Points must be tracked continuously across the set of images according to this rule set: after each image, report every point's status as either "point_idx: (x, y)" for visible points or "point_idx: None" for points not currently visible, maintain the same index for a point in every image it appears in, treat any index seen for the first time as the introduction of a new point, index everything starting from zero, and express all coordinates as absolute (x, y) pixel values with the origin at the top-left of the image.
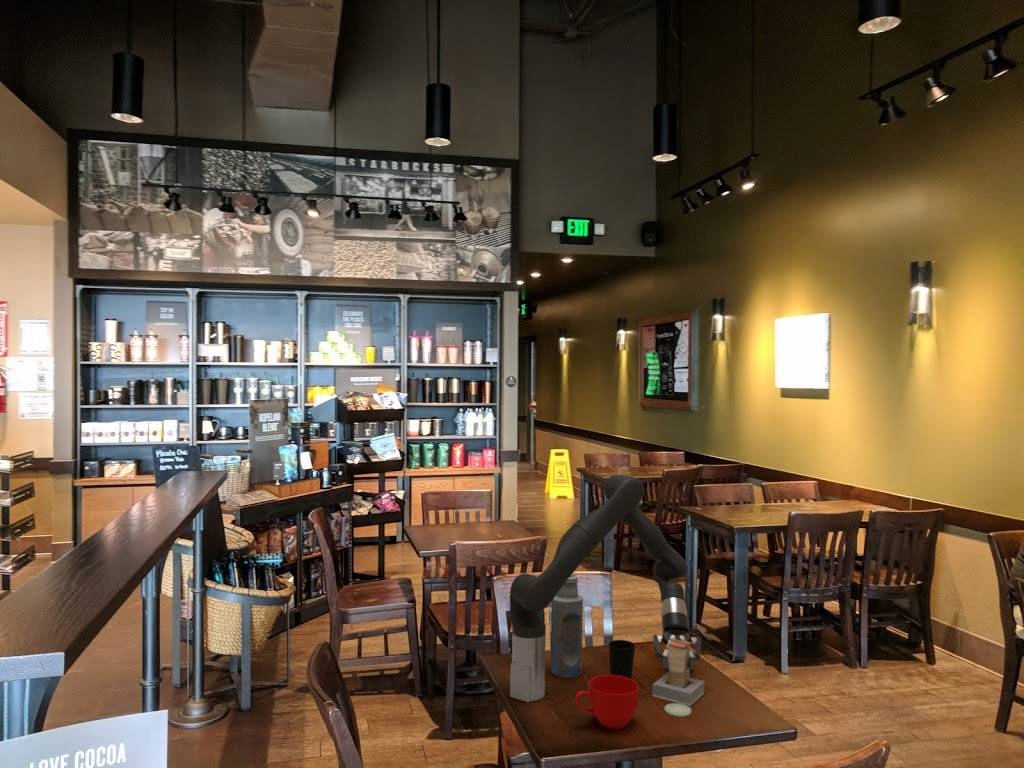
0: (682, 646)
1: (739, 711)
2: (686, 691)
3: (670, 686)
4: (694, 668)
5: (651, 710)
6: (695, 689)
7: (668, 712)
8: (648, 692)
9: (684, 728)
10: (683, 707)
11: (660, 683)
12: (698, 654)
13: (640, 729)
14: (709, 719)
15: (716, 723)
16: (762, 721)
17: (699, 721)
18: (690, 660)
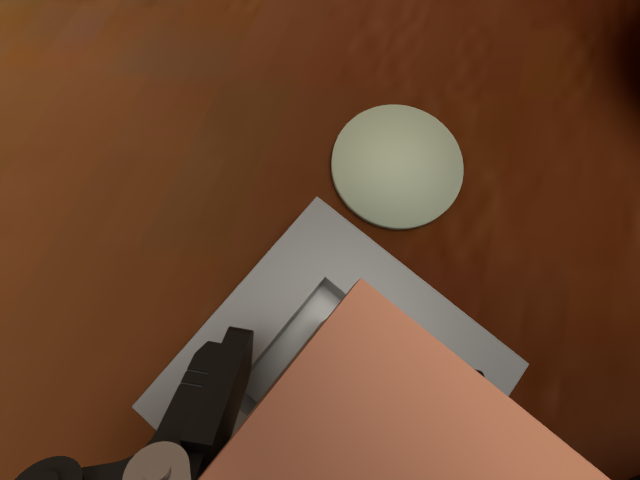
0: (385, 313)
1: (84, 151)
2: (329, 231)
3: (414, 315)
4: (204, 350)
5: (523, 184)
6: (256, 265)
7: (452, 136)
8: None
9: (411, 15)
10: (364, 176)
11: None
12: (51, 474)
13: (595, 18)
14: (271, 82)
15: (255, 46)
16: (33, 50)
17: (325, 67)
18: (212, 416)
